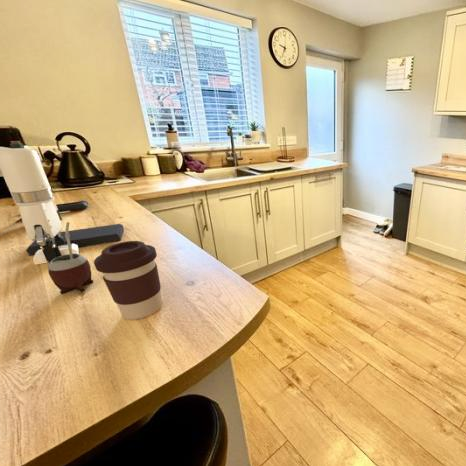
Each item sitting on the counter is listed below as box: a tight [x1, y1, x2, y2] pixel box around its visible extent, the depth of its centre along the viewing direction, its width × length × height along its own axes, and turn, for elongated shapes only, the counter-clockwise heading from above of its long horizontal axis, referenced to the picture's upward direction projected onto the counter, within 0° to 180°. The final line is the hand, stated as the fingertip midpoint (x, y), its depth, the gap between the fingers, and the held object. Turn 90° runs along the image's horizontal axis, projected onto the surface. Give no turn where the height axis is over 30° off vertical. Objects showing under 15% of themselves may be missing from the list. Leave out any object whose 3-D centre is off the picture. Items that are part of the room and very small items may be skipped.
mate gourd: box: [47, 221, 94, 295], centre depth 68 cm, size 8×8×15 cm
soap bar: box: [32, 244, 80, 265], centre depth 84 cm, size 5×9×3 cm, turn 129°
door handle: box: [56, 200, 89, 215], centre depth 125 cm, size 3×20×16 cm
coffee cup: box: [93, 240, 163, 321], centre depth 59 cm, size 10×10×15 cm
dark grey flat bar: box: [26, 223, 125, 257], centre depth 95 cm, size 22×12×2 cm, turn 122°
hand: (57, 255), depth 84 cm, fingers closed on soap bar, 5 cm apart
